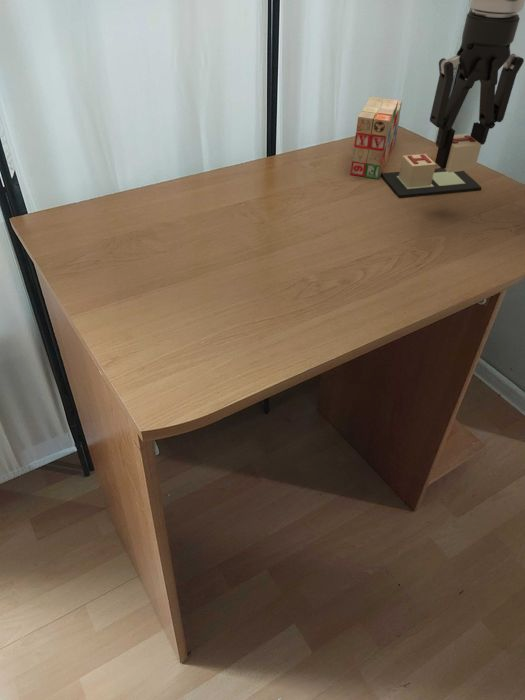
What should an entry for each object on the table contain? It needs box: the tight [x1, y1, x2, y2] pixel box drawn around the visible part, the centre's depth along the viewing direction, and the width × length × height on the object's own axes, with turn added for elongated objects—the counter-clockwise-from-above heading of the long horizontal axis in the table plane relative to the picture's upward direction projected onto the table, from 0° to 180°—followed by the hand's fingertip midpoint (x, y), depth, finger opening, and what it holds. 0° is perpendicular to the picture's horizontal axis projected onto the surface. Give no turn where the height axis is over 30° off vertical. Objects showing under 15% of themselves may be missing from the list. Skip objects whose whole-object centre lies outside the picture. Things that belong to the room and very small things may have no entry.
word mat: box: [380, 167, 483, 199], centre depth 111 cm, size 10×18×1 cm, turn 102°
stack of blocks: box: [349, 96, 403, 180], centre depth 116 cm, size 21×6×12 cm, turn 160°
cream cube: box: [399, 153, 437, 187], centre depth 109 cm, size 5×5×5 cm
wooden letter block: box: [444, 133, 482, 172], centre depth 94 cm, size 5×5×5 cm
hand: (455, 163), depth 95 cm, fingers closed on wooden letter block, 5 cm apart
